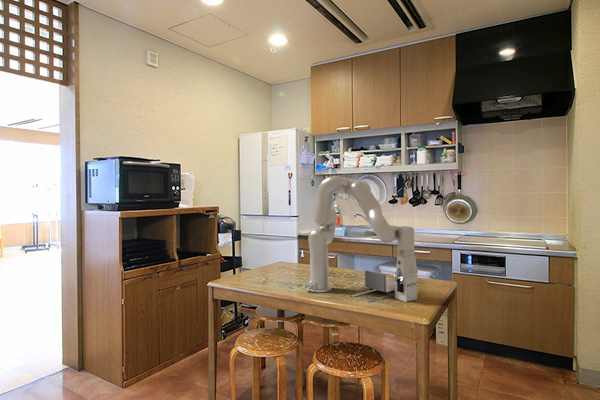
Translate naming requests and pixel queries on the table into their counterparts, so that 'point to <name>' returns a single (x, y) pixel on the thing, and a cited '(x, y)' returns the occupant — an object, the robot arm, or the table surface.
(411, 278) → the supplement box
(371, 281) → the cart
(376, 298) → the rail track
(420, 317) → the table surface
